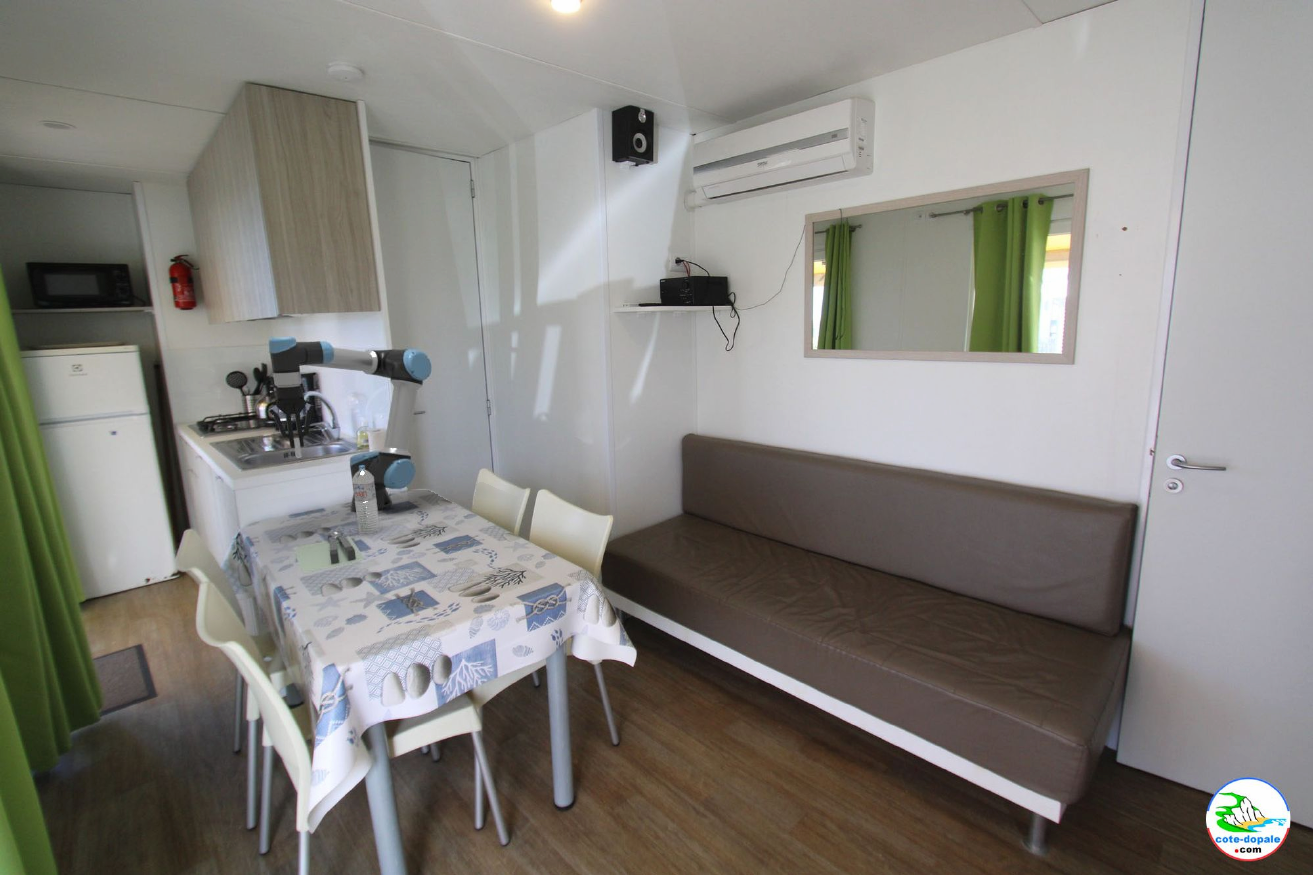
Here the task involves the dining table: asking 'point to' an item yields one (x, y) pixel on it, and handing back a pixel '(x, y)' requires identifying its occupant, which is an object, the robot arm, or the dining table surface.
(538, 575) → the dining table surface
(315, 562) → the board
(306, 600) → the dining table surface
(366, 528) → the water bottle
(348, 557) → the tongs fixed
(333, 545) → the bar
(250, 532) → the dining table surface
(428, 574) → the dining table surface
